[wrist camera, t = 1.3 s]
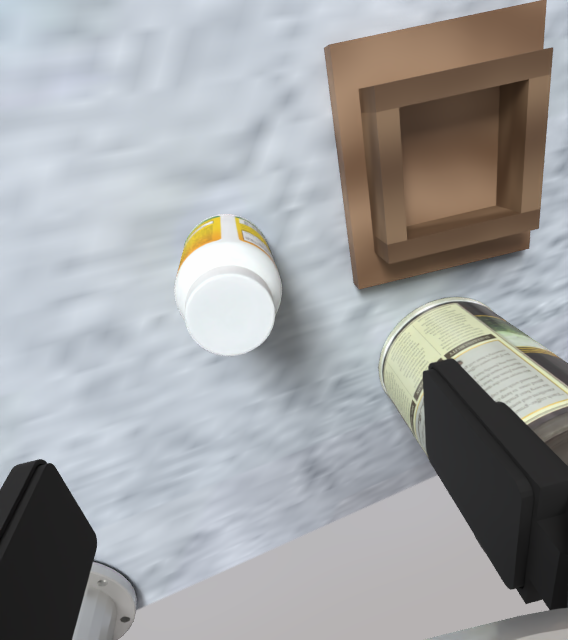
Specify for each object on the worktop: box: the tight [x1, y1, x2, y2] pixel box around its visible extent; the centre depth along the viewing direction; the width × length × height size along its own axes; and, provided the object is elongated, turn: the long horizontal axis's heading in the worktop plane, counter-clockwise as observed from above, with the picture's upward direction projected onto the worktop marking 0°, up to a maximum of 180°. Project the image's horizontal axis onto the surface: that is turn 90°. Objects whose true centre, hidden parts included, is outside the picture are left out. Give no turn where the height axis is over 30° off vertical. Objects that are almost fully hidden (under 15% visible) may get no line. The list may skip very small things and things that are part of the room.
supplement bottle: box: [175, 214, 282, 356], centre depth 23 cm, size 5×5×10 cm
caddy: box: [324, 0, 553, 289], centre depth 25 cm, size 14×12×4 cm
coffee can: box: [379, 297, 568, 552], centre depth 27 cm, size 10×10×14 cm
